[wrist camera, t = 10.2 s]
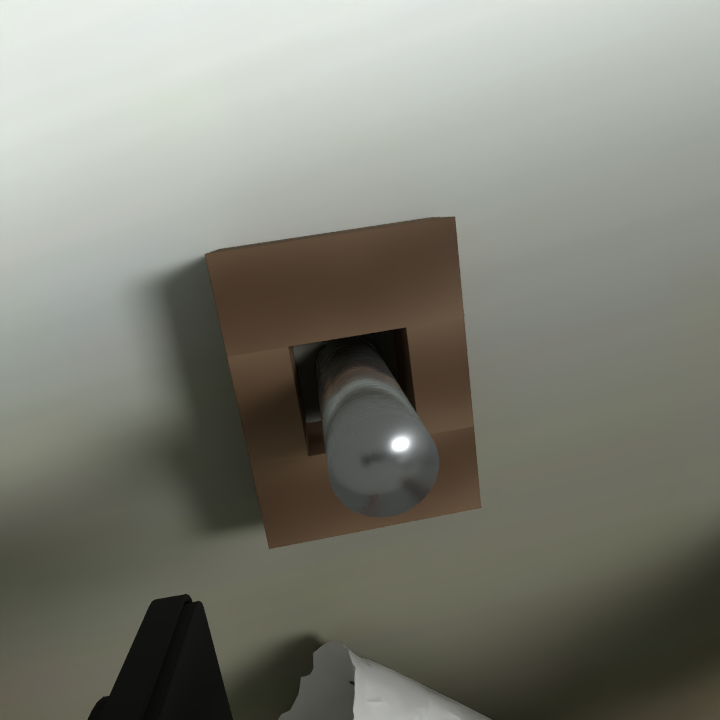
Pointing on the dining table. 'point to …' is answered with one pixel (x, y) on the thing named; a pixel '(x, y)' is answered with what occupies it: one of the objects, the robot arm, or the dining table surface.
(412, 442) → the peg
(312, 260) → the hole block
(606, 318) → the dining table surface
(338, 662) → the white plastic bottle
